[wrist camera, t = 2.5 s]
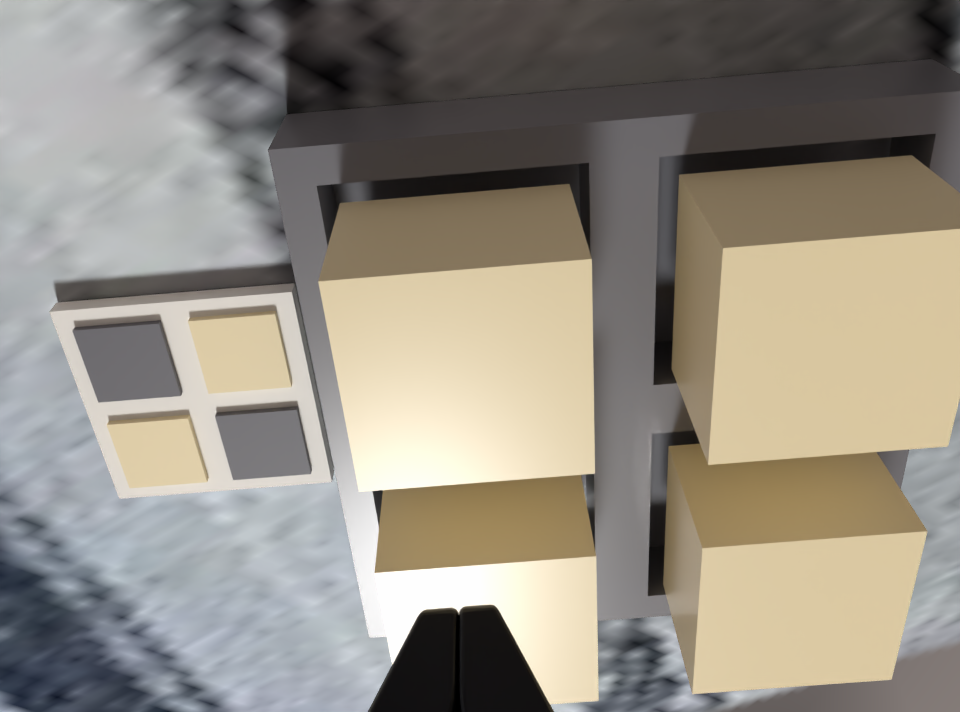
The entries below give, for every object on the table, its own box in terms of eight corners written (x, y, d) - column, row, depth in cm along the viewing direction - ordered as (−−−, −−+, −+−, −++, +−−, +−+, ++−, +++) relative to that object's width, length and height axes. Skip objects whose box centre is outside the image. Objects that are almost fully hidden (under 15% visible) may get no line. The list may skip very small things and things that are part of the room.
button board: (375, 576, 23) (369, 637, 22) (286, 114, 17) (267, 149, 15) (845, 540, 23) (876, 600, 21) (932, 58, 17) (986, 88, 15)
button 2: (408, 603, 21) (401, 715, 18) (384, 467, 19) (374, 572, 16) (580, 590, 21) (598, 701, 18) (576, 452, 19) (596, 556, 16)
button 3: (671, 369, 18) (708, 465, 15) (678, 174, 16) (723, 248, 13) (876, 352, 18) (948, 446, 15) (912, 154, 16) (1001, 225, 13)
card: (124, 487, 22) (117, 502, 21) (56, 302, 19) (46, 315, 18) (333, 471, 21) (331, 486, 21) (294, 283, 19) (290, 295, 18)
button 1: (662, 584, 21) (692, 694, 18) (668, 446, 19) (702, 548, 16) (837, 571, 21) (891, 679, 18) (862, 431, 19) (927, 531, 16)
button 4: (372, 392, 18) (358, 491, 15) (340, 202, 16) (318, 281, 13) (574, 376, 18) (595, 473, 15) (568, 184, 16) (592, 258, 13)
